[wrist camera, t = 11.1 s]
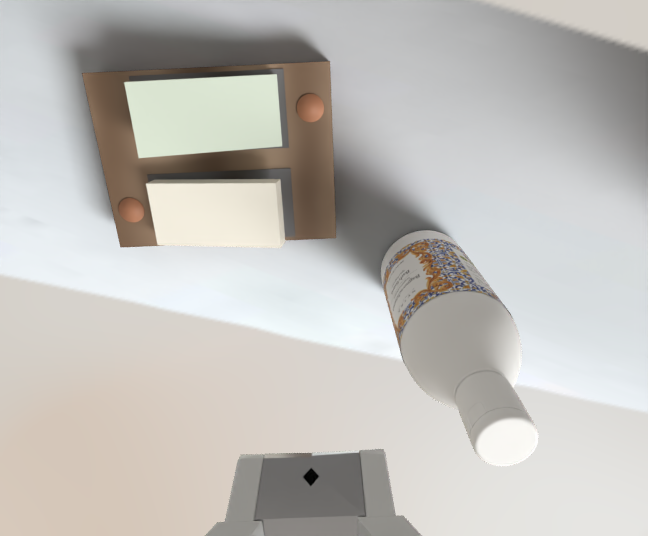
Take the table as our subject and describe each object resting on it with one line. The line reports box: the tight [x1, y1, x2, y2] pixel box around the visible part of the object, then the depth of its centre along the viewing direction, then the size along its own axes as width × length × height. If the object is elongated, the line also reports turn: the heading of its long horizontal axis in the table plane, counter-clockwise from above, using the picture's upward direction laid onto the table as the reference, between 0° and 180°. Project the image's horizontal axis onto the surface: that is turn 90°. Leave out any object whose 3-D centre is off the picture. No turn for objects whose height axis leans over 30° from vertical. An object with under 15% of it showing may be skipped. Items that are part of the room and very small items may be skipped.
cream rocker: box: [146, 179, 285, 248], centre depth 33 cm, size 9×4×1 cm, turn 93°
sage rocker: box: [124, 74, 282, 158], centre depth 31 cm, size 9×4×1 cm, turn 93°
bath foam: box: [381, 230, 538, 466], centre depth 31 cm, size 7×7×20 cm
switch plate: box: [82, 61, 336, 247], centre depth 34 cm, size 16×12×4 cm
